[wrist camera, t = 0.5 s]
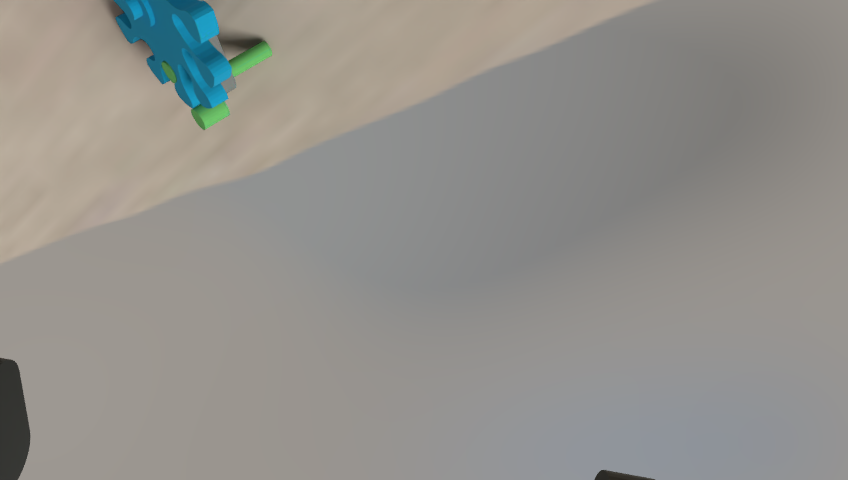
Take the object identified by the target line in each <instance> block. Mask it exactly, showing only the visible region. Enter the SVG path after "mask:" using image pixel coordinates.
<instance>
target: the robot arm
mask: <svg viewBox="0 0 848 480" xmlns="http://www.w3.org/2000/svg"><path fill="white" fill-rule="evenodd" d="M29 446H30V429H29V423H28V417H27V412H26V407H25V400H24V395H23V389H22V383H21V378H20V372H19V368H18V365H17V363H16V362H15V361H13V360H9V359H4V358H0V480H18V478H19V476H20V474H21V472H22V470H23V467H24V465H25V462H26V459H27V455H28V451H29ZM595 480H655V479H651V478H645V477H640V476H634V475H629V474H623V473H618V472H612V471H607V470H601V471H600V472H599V473H598V474H597V476H596V478H595Z"/></svg>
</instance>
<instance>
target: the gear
mask: <svg viewBox="0 0 848 480" xmlns="http://www.w3.org/2000/svg"><path fill="white" fill-rule="evenodd" d="M114 1H115V2H116V4H117V5H118V6H119V7H120V8H121V9H122V10H123V11H124V13H123V14H121V15H119V16H117V17H116V21H117V23H118V25H119V27H120V29H121V30H122V32H123V34H124V35H125V37H126V39H127V40H128V41H129V42H130V43H134V42H136V41H138V40H140V39H142V40H144V41H145V42H146V43H147V44H148V46H149V47H150V48H151V50H152V52H153V54H154V55H152V56H150V57H149V58H147V63H148V66H149V67H150V69H151V70H152V72H153V73H154V74H155V76H156V77H157V78H158V79H159V81H160V82H161V83H162V84H164V83H166V82H168V81H170V80H171V81H172V82H173V83H175V89H176V91H177V94H178V95H179V97H180V98H181V99H182V100H183V101H184V102H185V103H186V104H187V105H188V106H190V107H191V108H192V110H191V113H192V115H193V118H194V119H195V121H196V122H197V124H198V125H199V126H200V127H201V128H202V129H203V130H205V129H207V128H208V127H210V126H212V125H213V124H215V123H217V122H219V121H220V120H222V119H224V118H225V117H227V116H229V115H230V112H229V109H228V107H227V105H226V103H225V102H224V101H225V100H227V99H228V96H227V93H228V92H230V91H232V90H233V89H235V88H236V82H235V79H234V77H235V76H237V75H239V74H240V73H242V72H244V71H246V70H247V69H249V68H251V67H252V66H254V65H256V64H258V63H259V62H261V61H263V60H265V59H266V58H268V57H270V56H271V55H272V51H271V48H270V47H269V45H268V44H267V43H266V42H265V41H263V42H261V43H259V44H257V45H256V46H254V47H252V48H250V49H249V50H247V51H245V52H243V53H241V54H240V55H238V56H236V57H234V58H233V59H231V60H229V61H227V59H226V57H225V54H224V52H223V49H222V47H221V44H220V42H219V39H218V37H217V35H218V34H219V27H218V23H217V20H216V17H215V14H214V11H213V9H212V8H211V7H210V6H209V4H208V3H206V2H205V1H203V0H114ZM196 106H197V107H196Z"/></svg>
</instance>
